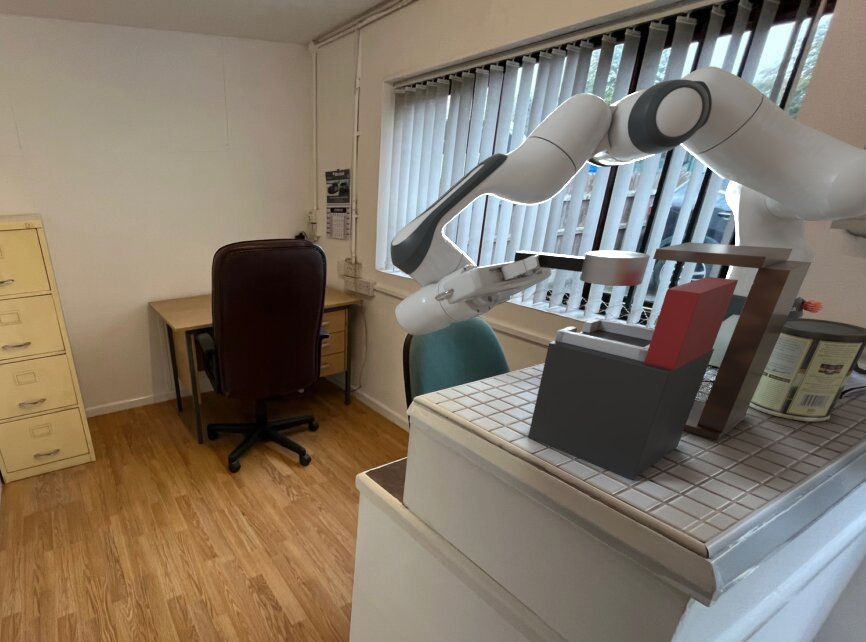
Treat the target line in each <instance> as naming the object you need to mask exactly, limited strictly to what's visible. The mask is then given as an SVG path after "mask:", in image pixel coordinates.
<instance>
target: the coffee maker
mask: <svg viewBox="0 0 866 642" xmlns="http://www.w3.org/2000/svg"><path fill="white" fill-rule="evenodd" d="M737 282H738V280H733V279H726V278H724V277H723V278H722V277H712V276H706V277H702V278H699V279H696V280H692V281H689V282H687V283H683V284H679V285H677V286H673V287H669V288H667V289H666V292H665V295H664V299H663V303H662V305H661V307H660V311H659V317H658V316H657V317H658V320H657V324H656V327H655V326H654V328H655V329H654V328H653V327H647V326H641V325H636V324H631V323H626V322H620V321H615V320H610V319H605V318H599V317H595V318H591V319H589V320H585V321H584V323H583V327H582V331H580V332H578V327H575V326H567V327H564V328H561V329H558V330H557V331H556V334H555V339H554V340H553V341H550V342H549V343H548V347H547V350H546V356H545V360H544V364H543V369H542V372H541V373H542V374H541V378H540V382H539V386H538V391H537V395H536V400H535V405H534V408H533V412H532V413H533V414H532V417H531V422H530V426H529V431H528V436H527V437H528V438H530V439H533V440H535V441H538V442H540V443H542V444H544V445H547V446H549V447H552V448H554V449H557V450H559V451H562V452H564V453H566V454H569V455H571V456H573V457H576V458H578V459H581V460H583V461H585V462H588V463H590V464H592V465H594V466H597V467H600V468H602V469H604V470H606V471H609V472H611V473H613V474H616V475H618V476H621V477H623V478H626V479H628V480H631V481H633V480H634V479H636V478H638V477H639V476H640V475H642V474H643V473H645V472H646V471H647V470H648V469H650V468H651V467H653V466H654V465H655V464H656V463H658V462H660V461H662V459H664V458H665V457H666V456H668V455H669V454H670V453H672V452H673V451H674V450H676V449H677V448H678V446H679V443H680V441H681V438H682V435H683V433H684V431H685V430H684V428H685V425H686V422H687V420H688V417H689V415H690V412H691V409H692V407H693V404H694V401H695V399H696V400H697V396H698V393H699V391H700V389H701V385H702V383H703V381H704V377H705V375H706V372H707V370H708V368H709V366H710V365H709V362H710V359H711V357H712V354H713V351H714V349H712V348H713V346H714V343H715V340H716V338H717V335H718V332H719V330H720V327H721V324H722V322H723V319H724V317H725V314H726V311H727V309H728V306H729V303H730V301H731V298H732V295H733V293H734V290H735V287H736V285H737Z"/></svg>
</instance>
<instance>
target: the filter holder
mask: <svg viewBox="0 0 866 642" xmlns="http://www.w3.org/2000/svg"><path fill="white" fill-rule="evenodd" d="M549 253H550V252H539V251H538V252H537V251H528V250H518V251H515V253H514V259H513V261H514V262H517V261H521V260H524V259H526V258H528V257H530V256H534V255H540V256H541V260H542V262H543V264H542V266H540V267H544V268H550V269H553V270H562V271H569V272H570V271H571V272H577V273H580V275H579V281H582V282H584V283H587V284H592V285H598V286H599V285H600V286H608V287H609V286H611V287H633V286H639V285H642V283H643V281H644V277H645V274H646V271H647V267H648V264H649V260H650V257H651V256H650V255H649V254H647V253H643V252H637V251H636V252H635V251H625V250H592V251H591V250H590V251H588V252H585V254H584V256H581V255H580V256H579V255H570V254H569V255H568V254H558V253H552V254H549Z"/></svg>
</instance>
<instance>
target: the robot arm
mask: <svg viewBox="0 0 866 642" xmlns="http://www.w3.org/2000/svg"><path fill="white" fill-rule="evenodd" d="M679 146H681V147H682V148H684V149H685V150H686V151H687V152H688V153H689V154H690V155H692V156H694V158H695V159H697V160H699V161H700V162H701V163H702V164H703V165H705V166H706V167H707V168H709V169H710V170H711V171H712V172H713V173H715V174H716V175H718V176H719V177H720V178H722V179H724V180H726V181H729V183H728V185H727V188H726V190H725V200H726V202H727V203H726V204H727V205H728V206H729V208H730V209H731V211H732V213H733V216H734V222H735V223H734V224H735V244H734V245H740V246H756V247H772V248H789V249H792V251H791V254H790V256H789V259H788V261H801V262H811V265H810V267H809V269H808V272H807V274H806V276H805V278H804V281H803V283H802V285H801V288H800V290H799V292H798V294H797V297H796V299H795V301H794V304H793V306H792V308H791V311H790V313H789V315H788V317H787V318H804V311H806V312H809V313H812V314H816V313H819V311H822V309H823V308H824V305H823V303H822V302H820V301H819V302H818V301H815V300H813V299H812V300H806V299H804V298H802V297H800V296H801V294H802V291H803V289H804V287H805V284H806V283H807V280H808V277H809V275H810V273H811V270H812V269H813V267H814V264H815V261H816V258H817V257H816V256H817V255H816V251H815V249H814V248H813V246H812V245H811V244H810V243H809V241H808V239H807V234H806V222H830V221H838V220H839V221H840V220H845V219H851V218H857V217H860V216H864V215H866V149H865V148H861V147H858V146H855V145H852V144H850V143H848V142H846V141H843V140H841V139H838V138H837V137H835V136H833V135H830V134H828V133H826V132H823V131H821V130H819V129H816V128H814V127H811V126H809V125H807V124H805V123H803V122H801V121H799V120H797V119H796V118H794V117H793V116H791V115H790V114H789V113H787V111H786V110H784V109H783V108H781V107H780V106H779V105H777V104H776V102H774V101H773V100H772V99H770V98H769V97H768V96H767V95H765V94H764V93H763V92H762V91H760V90H759V89H758V88H756V87H755V86H754V85H753V84H751V83H750V82H748V81H747V80H745V79H743V78H741V77H739V76H738V75H736V74H734V73H732V72H730V71H728V70H726V69H723V68H720V67H717V66H711V65H710V66H704V67H699V68H697V69H695V70H694V71H691V72H690V73H688V74H686V75H684V77H682V78H680V79H669V80H664V81H660V82H658V83H655V84H654V85H652V86H650V87H646V88H644V89H643V88H642V89H640V90H637V91H635V92H633V93H631V94H628V95H626V96H624V97H623V98H621V99H620V100H618V101H616V102H614V103H611V104H608V103H607V102H606V101H605V100H604V99H603V98H601V97H600V96H599V95H596V94H593V93H587V92H586V93H585V92H584V93H578V94H574V95H572V96H570V97H568V98H567V99H566V100H564V102H562V103H561V104H560V105H558V106H557V107H556V108H555V109H554V110H553V111H552V112H551V113H549V114H548V115H547V116H546V117H545V118H544V120H542V121H541V122H540V123H539V124H538V125H537V126H536V127H535V128H534V130H533V131H532V132H530V134H529V135H528V136H527V137H526V138H525V140H524V141H523V142H522V143H521V144H520V145H519V146H518V147H516V148H514V150H511V151H510V152H508V153H506V154H505V153H499V152H497V153H495V154H492V155H490V156H488V157H487V158H485V159H484V160H482V161H481V162H480V163H478V164H477V165H476V166H474V167H473V168H472V169H471V170H470V171H468V172H467V173H466V174H465V175H463V176H462V177H461V178H460V179H459V180H458V181H457V182H456V183H454V184H453V185H452V186H451V187H449V189H448V190H447V191H445V192H444V193H443V194H442V195H441V196H440V197H439V198H437V199H436V200H435V201H434V202H433V203H432V204H431V205H430V206H429V207H427V208H426V209H425V210H424V211H423V212H421V213H420V214H419V215H418V216H416V217H415V218H414V219H412V220H411V221H410V222H409V223H407V224H406V225H405V226H403V227H402V228H401V229H400V230H399V231H398V232H397V233H396V234H395V236H394V237H393V238H392V240H391V242H390V259H391V263H392V266H394V267H395V268H397V269H398V270H399V271H401V272H403V274H406V275H408V276H409V277H410V278H411V279H412V280H413V281H415V282H416V283H417V284H418V285H419V286H420V288H419V289H418V290H416V291H415V292H413V293H411V294H410V295H408V296H406V297H405V298H404V299H403V300H401V301H400V302H399V303H398V304H397V305H396V307H395V312H394V313H395V314H394V315H395V319H396V321H397V323H398V325H399V326H400V327H401V328H402V329H403V331H404V332H406V333H407V334H409V335H411V336H420V337H421V336H425V335H429V334H433V333H436V332H439V331H442V330H444V329H447V328H448V327H450V326H451V325H452V324H454V323H463V322H466V321H468V320H471V319H474V318H477V317H479V316H481V315H482V316H483V315H484V314H486V313H489V311H490V310H492V309H493V308H495V307H496V306H499V305H502V304H504V303H506V302H509V301H510V300H511V297H512V296H514V295H517V294H519V293H521V292H524V291H525V290H527V289H530V288H531V287H534V286H535V285H537V284H540V283H541V282H543V281H545V280H547V279H548V278H549V277H551V276H552V270H551V269H552V268H544V267H540V266H542V264H543V262H542V260H541V256H540V255H534V256H530V257H528V258H526V259H524V260H521V261H517V262H514V260H513V261H508V262H502V263H497V264H490V265H484V266H478V265H476V263H475V262H474V261H473V260H472V259H471V258H470V257H469V256H468V255H467V254H466V253H465V252H464V251H463V250H462V249H460V248H459V247H458V246H457V245H456V244H455V243H454V242H453V241H451V240H450V239H449V237H448V236H446V235H445V234H444V228H445V227H446V226H447V225H448V224H449V223H450V222H451V221H453V219H455V218H456V217H457V216H458V215H459V214H460V213H461V212H463V211H464V210H466V208H467V207H468V206H470V205H471V204H472V203H473V202H474V201H475V200H477V199H478V198H480V197H481V196H484V195H489V196H494V197H496V198H499V199H502V200H504V201H507V202H510V203H512V204H513V203H514V204H517V205H525V206H534V205H540V204H543V203H546V202H548V201H549V200H551V199H553V198H554V197H556V196H557V195H558V194H559V193H560V192H561V191H562V190H563V189H564V188H565V187H566V186H567V185H568V184H569V183H570V182H571V180H572V179H573V178H574V177H575V176H576V175H577V174H578V173H579V172H580V171H581V169H582V168H583V167H584V166H585V165H586V163H588V164H590V165H592V166H596V167H601V168H609V167H611V168H612V167H615V166H618V165H625V164H632V163H636V162H639V161H642V160H644V159H647V158H649V157H652V156H656V155H660V154H664V153H667V152H669V151H671V150H674V149H675V148H677V147H679ZM548 253H549V254H553V253H552V252H548ZM757 271H758V268H748V267H737V266H728V271H727V274H726V277H725V279H733V280H738V282H737V285H736V287H735V290H734V293H733V295H732V298H731V301H730V303H729V306H728V309H727V311H726V314H725V317H724V319H723V322H722V324H721V327H720V330H719V332H718V335H717V338H716V340H715V343H714V346H713V348H712V349H714V351H713V354H712V357H711V359H710V362H709V365H708V366H713V367H717V368H719V367H720V365H721V362H722V360H723V357H724V355H725V352H726V350H727V347H728V344H729V342H730V339H731V337H732V334H733V332H734V329H735V327H736V324H737V322H738V319H739V316H740V314H741V311H742V309H743V306H744V304H745V301H746V299H747V296H748V293H749V291H750V288H751V286H752V283H753V281H754V278H755V276H756V273H757ZM853 372H856V373H857V374H861V375H866V369H864V368H862V367H859V362H857V364H856V366H855V368H854V369H853Z"/></svg>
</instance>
